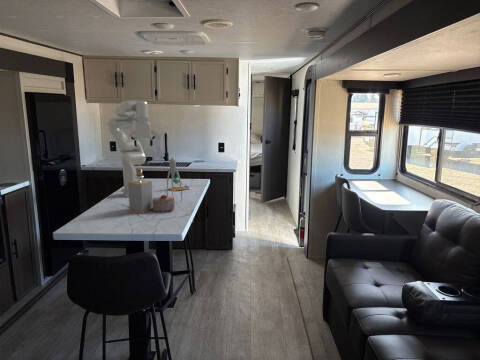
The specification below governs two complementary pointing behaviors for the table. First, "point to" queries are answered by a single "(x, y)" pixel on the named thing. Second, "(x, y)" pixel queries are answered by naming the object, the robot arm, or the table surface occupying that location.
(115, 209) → the table surface
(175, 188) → the frog figurine
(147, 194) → the beige tall block
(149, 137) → the robot arm
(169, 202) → the food item
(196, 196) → the table surface
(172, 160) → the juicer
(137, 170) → the knob
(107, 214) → the table surface
